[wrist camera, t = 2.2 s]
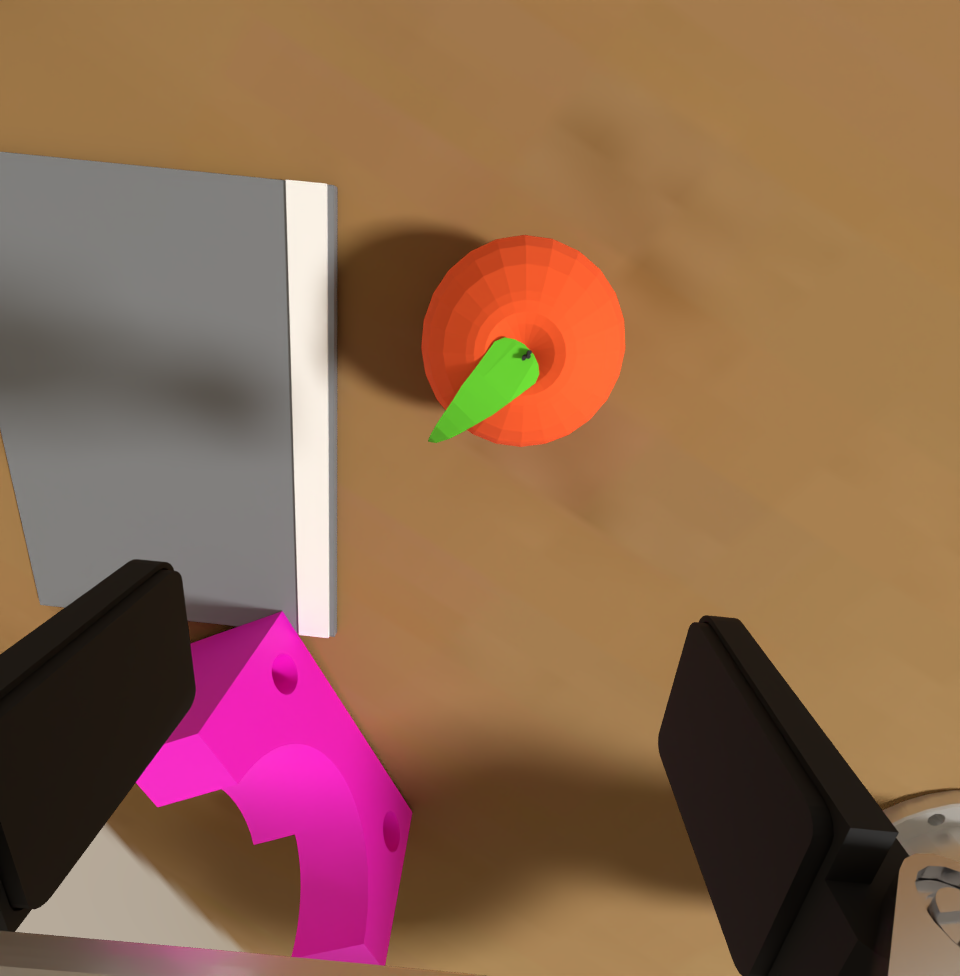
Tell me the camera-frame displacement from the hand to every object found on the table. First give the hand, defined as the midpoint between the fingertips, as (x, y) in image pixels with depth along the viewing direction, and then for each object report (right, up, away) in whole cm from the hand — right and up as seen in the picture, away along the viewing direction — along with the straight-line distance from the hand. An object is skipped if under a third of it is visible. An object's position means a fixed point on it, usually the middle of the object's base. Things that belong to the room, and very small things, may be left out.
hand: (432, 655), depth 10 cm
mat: (-13, +6, +13) cm, 20 cm away
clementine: (+2, +9, +12) cm, 15 cm away
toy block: (-9, -10, +19) cm, 23 cm away
